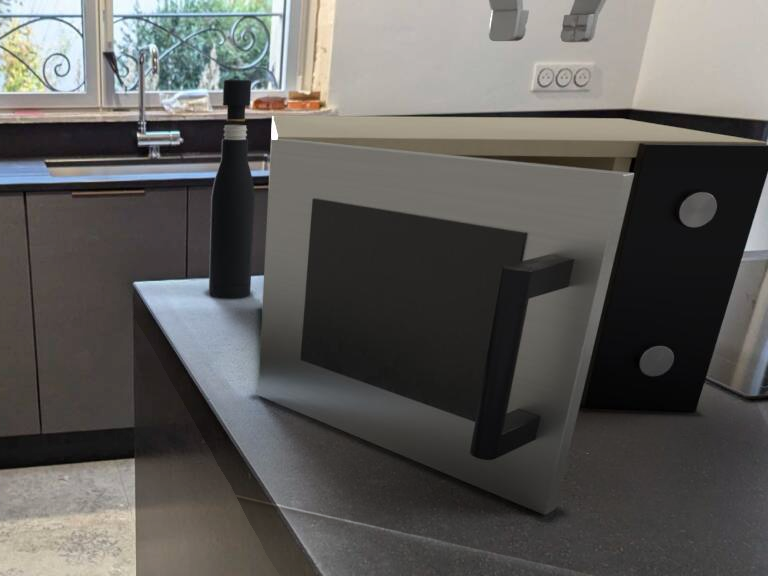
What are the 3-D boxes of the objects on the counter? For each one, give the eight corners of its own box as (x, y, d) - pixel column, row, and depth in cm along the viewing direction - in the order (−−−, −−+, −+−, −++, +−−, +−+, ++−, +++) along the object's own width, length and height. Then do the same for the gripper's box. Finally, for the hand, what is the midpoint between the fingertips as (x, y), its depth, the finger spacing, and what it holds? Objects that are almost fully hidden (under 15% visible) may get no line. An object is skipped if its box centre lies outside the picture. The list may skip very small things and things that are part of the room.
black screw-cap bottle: (200, 294, 126) (205, 80, 113) (222, 285, 131) (229, 79, 118) (236, 300, 123) (245, 81, 110) (257, 291, 128) (268, 80, 115)
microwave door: (498, 542, 61) (573, 182, 50) (211, 409, 84) (219, 143, 73) (555, 509, 66) (634, 173, 55) (268, 392, 89) (283, 138, 78)
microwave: (699, 416, 83) (782, 144, 72) (262, 399, 87) (277, 138, 76) (577, 318, 115) (622, 118, 104) (262, 309, 119) (272, 115, 108)
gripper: (548, -258, 43) (503, 39, 49) (705, -191, 55) (653, 42, 60) (443, -228, 47) (413, 41, 53) (609, -172, 59) (570, 43, 65)
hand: (542, 41), depth 57 cm, fingers open, 8 cm apart
